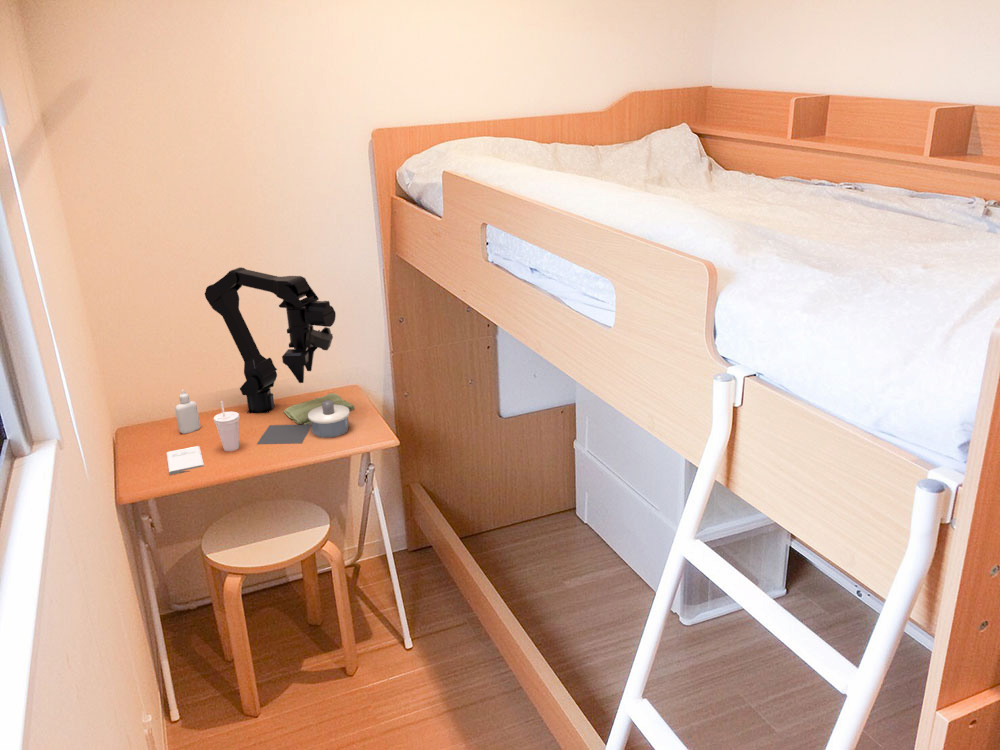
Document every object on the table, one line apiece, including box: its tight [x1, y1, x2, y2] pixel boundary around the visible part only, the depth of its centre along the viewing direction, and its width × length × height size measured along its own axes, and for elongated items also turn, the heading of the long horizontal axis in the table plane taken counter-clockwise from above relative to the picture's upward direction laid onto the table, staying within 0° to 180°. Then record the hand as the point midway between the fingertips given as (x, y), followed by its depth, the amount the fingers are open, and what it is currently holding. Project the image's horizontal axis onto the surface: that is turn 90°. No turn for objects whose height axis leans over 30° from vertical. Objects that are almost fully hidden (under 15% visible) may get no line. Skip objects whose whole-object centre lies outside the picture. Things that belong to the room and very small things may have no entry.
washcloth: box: [283, 392, 355, 425], centre depth 230 cm, size 13×18×3 cm
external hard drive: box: [166, 445, 205, 476], centre depth 204 cm, size 2×8×12 cm
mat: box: [256, 424, 312, 445], centre depth 216 cm, size 12×12×1 cm
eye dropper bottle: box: [174, 389, 202, 435], centre depth 220 cm, size 4×6×12 cm
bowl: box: [311, 416, 349, 439], centre depth 217 cm, size 9×9×5 cm
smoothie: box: [213, 400, 241, 452], centre depth 207 cm, size 6×6×14 cm
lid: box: [308, 400, 351, 424], centre depth 216 cm, size 11×11×4 cm
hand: (305, 376), depth 223 cm, fingers open, 9 cm apart
